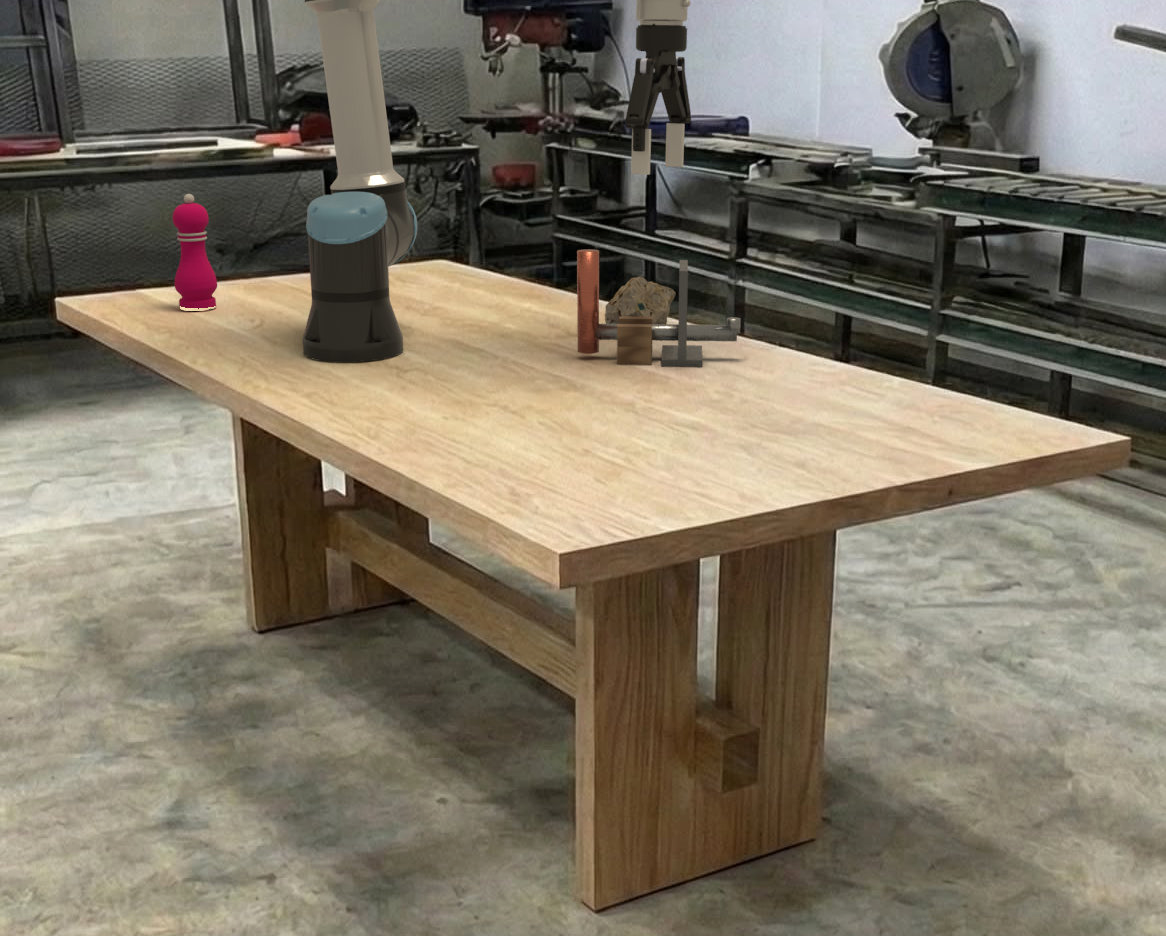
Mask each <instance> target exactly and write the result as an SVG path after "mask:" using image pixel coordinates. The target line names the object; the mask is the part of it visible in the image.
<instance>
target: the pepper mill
mask: <svg viewBox="0 0 1166 936" xmlns="http://www.w3.org/2000/svg"><path fill="white" fill-rule="evenodd" d="M183 201H184V203H181V204H179V205H177V206H176V207H175V208H174V210H173V213H172V224H173V225H174V226H175V228H177V230H178V231H177V232H176V235H177V241H178V242H179V246H180V261H179V263H178V264H179V265H178V266H177V270H176V272H175V277H174V289H175V291H176V292H177V293H178V294H179V295H180V296H181V298H180V299H178V303H179V305H178V306H181V307H185V308H198V309H199V308H208V307H214V306H216V307H217V301H216V297H214V296H213V294H214V293H215V292H216V290H217V288H218V280H217V275H216V274H215V271H214V269H213V267H212V265H211V263H210V261H209V259H208V256H207V251H206V240H207V239H208V237H207V231H206V230H205V229H206V227H207V226H208V224H209V214H208V211H207V209H206V208H205V207H204V206H203V205H201V204H199V203H196V202H195V196H194V195H193V194H191V193H187V194H185V195H184V196H183Z"/></svg>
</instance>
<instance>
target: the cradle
mask: <svg viewBox="0 0 1166 936" xmlns="http://www.w3.org/2000/svg"><path fill="white" fill-rule="evenodd" d="M652 324H653V317H632V316H619V324H618V326H617V340H616V342H617V343H616V344H617V345H616V349H617V350H616V365H630V366H632V365H637V366H639V365H641V366H642V365H644V366H645V365H646V366H651V365H652V360H653V340H652Z"/></svg>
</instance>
